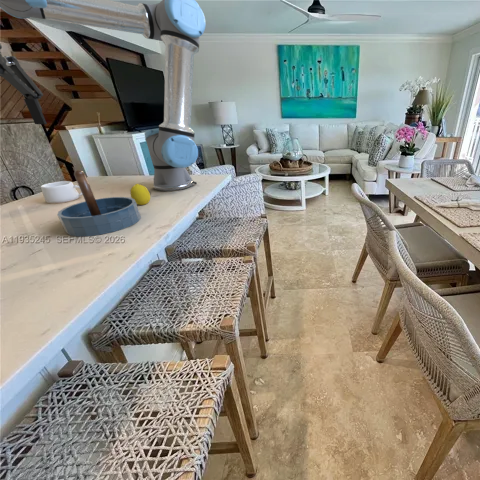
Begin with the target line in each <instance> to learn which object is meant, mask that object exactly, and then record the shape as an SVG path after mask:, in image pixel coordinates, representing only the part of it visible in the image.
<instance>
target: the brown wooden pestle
mask: <svg viewBox="0 0 480 480" xmlns="http://www.w3.org/2000/svg"><path fill="white" fill-rule="evenodd" d="M73 175H74V178H75V180H76V182H77V185H78V186H79V187H80V188H79V190H80V193H81V192H82V194H83V195H82V196H83V199H84V202H85V201H86V204H87V206H88V208H89V211H90V213H91V215H92V216H95V215H100V214H101V212H100V210H99V207H98V205H97V202H96V200H95V199H96V197H95V194H94V192H93V190H92V188H91V185H90V183H89V180H88V178H87V176H86V174H85V172H84V171H83V170H80V169H76V170H75V171H74V172H73Z"/></svg>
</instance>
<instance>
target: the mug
mask: <svg viewBox="0 0 480 480" xmlns="http://www.w3.org/2000/svg"><path fill="white" fill-rule="evenodd" d="M40 189H41V192H42V196H43V198H44V201H45V202H46V203H48V204H62V203H68V202H72V201H75V200H78V199H79V198H80V197H81V196H83V194H82V192H81V191H80V193H79V192H78V190H77V189H80V187H79V185H78V184H77V185H76V184H75V185H74V183H73V182H72V181H70V180H61V181H54V182H49V183H44V184H42V185H40Z"/></svg>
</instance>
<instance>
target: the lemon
mask: <svg viewBox="0 0 480 480" xmlns="http://www.w3.org/2000/svg"><path fill="white" fill-rule="evenodd" d="M129 194H130V198H132V199H135V201H136V204H137V205H140V206H144V205H147V204H149V202H150V201H151V193H150V191H149V190H148V188H147V187H146V186H145V185H143V184H139V183H135V184H134V185H133V186H132V187H131V188H130V193H129Z"/></svg>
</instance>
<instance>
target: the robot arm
mask: <svg viewBox="0 0 480 480" xmlns="http://www.w3.org/2000/svg"><path fill="white" fill-rule="evenodd" d="M0 8H1V10H2V11H4V12H5V13H6V14H7V15H10V16H12V17H15V18H17V19H22V20H23V19H29V18H34V19H41V20H47V21H48V20H49V21H56V22H61V23H69V24H74V25H81V26H86V27H94V28H99V29H100V28H101V29H106V30H113V31H119V32H125V33H132V34H136V35H137V34H138V35H142V36H143V37H144V38H145V39H147V40H153V41H159V42H162V43H163V44H164V45H165V52H164V53H165V55H164V56H165V57H164V58H165V60H164V96H163V97H164V102H163V122H162V123H160V124H159V125H158V128H157V129H156V128H155V129H148V130H145V131H144V140H145V142H146V145H147V149H148V152H149V156H150V160H151V163H152V166H153V170H154V173H153V188H154V190H156V191H158V192H159V191H160V192H174V191H180V190H185V189H189V188H191V187H193V186H194V185H197V183H198V182H197V181H194V180H193V178H192V176H191V175H190V173H189V171H188V170H187V168H189V167H191V166H192V165H194V164H195V162H196V161H197V159H198V157H199V148H198V146H197V144H196V143H195V131H194V130H193V129H192V127H191V124H192V123H191V121H192V104H193V101H192V100H193V81H194V80H193V79H194V62H195V61H194V60H195V55H196V54H197V53H199V52H200V41H201V36H203V34H204V32H205V30H206V26H207V25H206V23H207V22H206V17H205V14H204V12H203V9H202V8H201V6H200V5H199V3H198V1H196V0H161V1H160V2H158V3H152V4H151V3H150V4H149V3H144V2H139V3H138V4H136V5H134V4H130V3H126V2H125V3H124V2H120V1H114V0H0ZM2 48H3V46H2V44H1V43H0V50H2ZM0 77H2V78H3V79H4V80H6V81H7V82H8V83H9V84H10V85H11V86H12V87H14V88H15V89H16V91H18V92H19V93H20V94H22V96H23V97H25V98H23V100H24V103H25V105H26V107H27V109H28V111H29V114H30V116H31V118H32V121H33V123H34V125H47V124H48V123H47V121H46V118H45V116H44V114H43V108H42V105H41V103H40V101H39V100H40V99H42V97H43V96H44V93H43V91H41V89H40V88H39V87H38V86H37V85H36V83H35V82H34V81H33V79H32V78H31V77H30V75H28V74H27V72H26V71H25V70H24V68H22V66H21V64H20V62H19V60H18V58H17V57H16V56H14V55H3V54H2V52H1V51H0Z"/></svg>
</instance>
